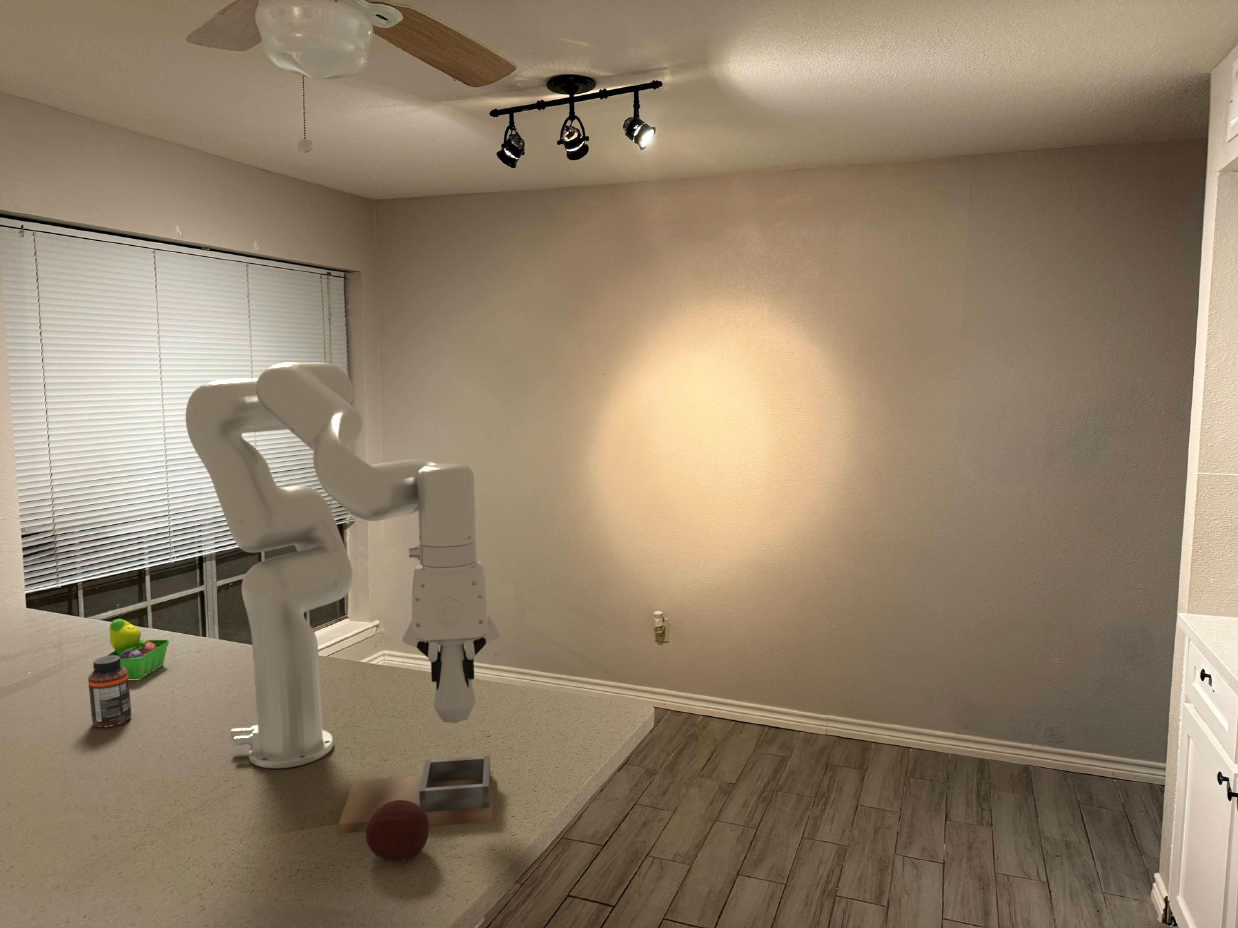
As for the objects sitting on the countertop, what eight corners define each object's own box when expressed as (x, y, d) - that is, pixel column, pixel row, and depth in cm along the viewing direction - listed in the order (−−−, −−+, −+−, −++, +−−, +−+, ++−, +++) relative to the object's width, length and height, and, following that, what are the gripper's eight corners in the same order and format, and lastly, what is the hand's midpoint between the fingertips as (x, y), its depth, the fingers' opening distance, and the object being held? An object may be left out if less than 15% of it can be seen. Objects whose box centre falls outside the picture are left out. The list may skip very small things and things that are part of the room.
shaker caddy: (338, 832, 113) (337, 802, 113) (354, 788, 125) (352, 760, 124) (492, 820, 116) (491, 790, 115) (493, 778, 127) (492, 751, 127)
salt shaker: (466, 726, 116) (463, 633, 114) (426, 724, 117) (422, 631, 116) (481, 709, 122) (478, 620, 120) (443, 707, 123) (440, 618, 121)
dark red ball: (426, 871, 104) (423, 816, 103) (360, 875, 104) (358, 819, 103) (433, 838, 112) (432, 786, 111) (373, 841, 111) (370, 789, 110)
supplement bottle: (97, 717, 151) (91, 655, 150) (135, 712, 153) (130, 651, 152) (87, 730, 146) (82, 666, 144) (127, 725, 148) (122, 662, 146)
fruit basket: (141, 683, 168) (137, 627, 166) (96, 683, 168) (92, 627, 166) (172, 663, 179) (169, 610, 178) (130, 663, 179) (126, 610, 178)
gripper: (382, 563, 112) (389, 699, 114) (509, 558, 114) (513, 691, 116) (390, 551, 119) (396, 679, 122) (509, 546, 122) (512, 672, 124)
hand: (453, 684), depth 119 cm, fingers closed on salt shaker, 3 cm apart
